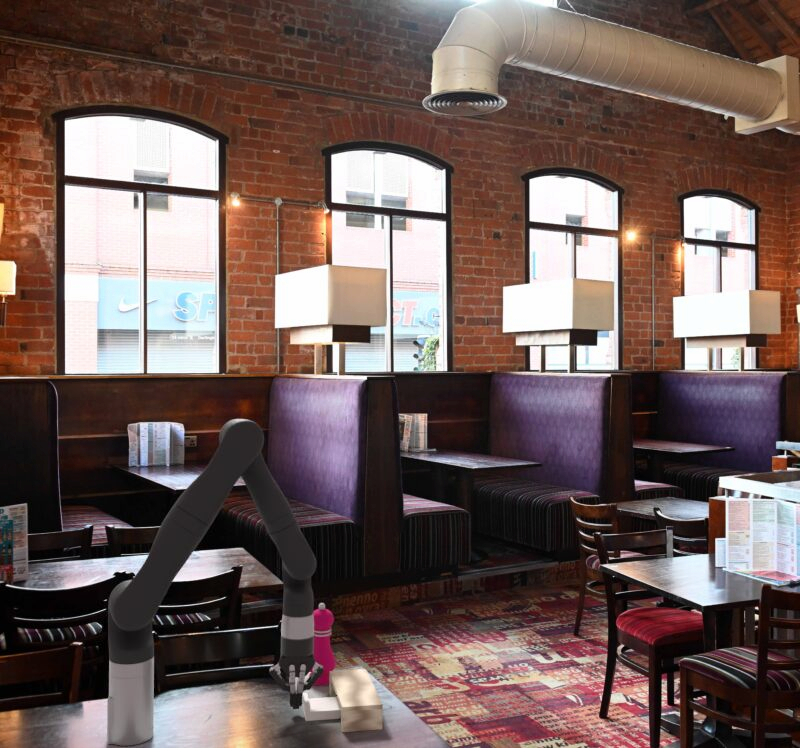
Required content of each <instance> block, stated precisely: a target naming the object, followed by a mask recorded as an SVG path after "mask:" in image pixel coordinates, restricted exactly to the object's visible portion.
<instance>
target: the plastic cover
mask: <svg viewBox="0 0 800 748" xmlns="http://www.w3.org/2000/svg"><path fill="white" fill-rule="evenodd" d="M302 711H303V716H304V720H305V722H309V721H310V722H312V721H324V720H325V721H326V720H339V718H340V720H341V707H340V704H339V701H338V698H337V696H327V697H312V698H309V695H308V692H305V691H303V694H302Z"/></svg>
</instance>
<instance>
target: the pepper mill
mask: <svg viewBox="0 0 800 748" xmlns="http://www.w3.org/2000/svg"><path fill="white" fill-rule="evenodd" d="M313 617H314V652H313V655H314V658H315V661H316V663H318V664H319V665H322V666H323V669H324V672H323V673H322V675H321V676H320V677H319V678H318V680H317V681H316V682H315V684H314V685H313V686H318V687H319V686H322V685H324V686H328V684H329V672H330V671H335V669H336V665H337V664H336V656H335V655H334V652H333V649H332V647H331V646H332V645H331V640H330V639H331V635H332V627H333V626H332V625H333V624H334V622H335V621H334V620H335V619H334V615H333V612H332V611H331V610H329V609H327V608H326V604H325V603H324V602H320V603H319V604H318V608H317V609H314V610H313ZM313 667H314V666H313ZM313 667H312V669H311V670H310V672H309V673H308V678H309V677H310V675H311V674H312V673H313Z"/></svg>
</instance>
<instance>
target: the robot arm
mask: <svg viewBox="0 0 800 748" xmlns="http://www.w3.org/2000/svg"><path fill="white" fill-rule="evenodd" d="M218 442H219V446H218V447H217V449H216V451H215V453H214V455H213V456H212V457H211V459H210V461H209V463H208V464H207V465H206V467H205V468H204V470H202V472H201V473H200V474H198V476H197V477H196V479H194V480H193V481H192V483H190V484H189V486H188V487H187V488H186V489H184V491H183V492H182V493H181V494H180V496H179V497H177V500H176V501H175V503H174V504H173V505H172V507H171V508H170V510H169V511H168V513H167V514H166V516H165V518H164V519H163V520H162V522H161V524H160V527H159V529H158V530H157V533H156V536H155V537H154V540H153V543H152V546H151V548H150V550H149V553H148V555H147V557H146V559H145V561H144V562H143V564H142V565H141V567H140V568H139V570H138V571H137V573H136V574H135V575H134V577H133V578H132V579H128V580H124V581H122V582H119V584H117V585H116V586H115V587H114V588H113V589H112V591H111V593H110V594H109V597H108V604H107V605H108V606H107V628H108V629H107V630H108V631H107V633H108V634H107V635H108V636H107V638H108V639H107V641H108V643H107V644H108V654H109V655H108V659H109V660H108V662H109V663H108V664H109V666H108V669H109V670H108V698H107V700H106V701H107V704H106V707H107V711H106V712H107V714H106V717H107V718H106V719H107V721H106V722H107V723H106V729H107V731H106V743H107V745H111V744H112V745H116V746H135V745H140V744H143V743H146V742H147V741H149V740H151V739H152V738H153V737H154V729H155V728H154V727H155V726H154V709H155V708H154V706H155V705H154V704H155V698H154V696H155V693H154V688H155V683H154V682H155V681H154V680H155V676H154V675H155V641H154V636H153V633H154V632H153V618H154V617H155V616H156V614H157V612H158V609H159V608H160V606H161V604H162V601H163V600H164V597H165V596H166V595H167V593H168V590H169V588H170V586H171V585H172V583H173V581H174V579H175V578H176V577H177V575H178V573H179V572H180V571H181V569H182V568H183V566H184V565H185V564H186V563H187V561H188V560H189V558H190V557H191V556H192V554H193V552H195V551H194V550H195V549H196V548H197V547H198V545H199V544H200V542H201V541H202V540H203V538H204V536H205V535H206V534H207V532H208V530H209V529H210V528H211V526H212V524H213V523H214V521H215V519H216V517H217V516H218V514H219V512H220V511H221V509H222V507H223V505H224V504H225V503H226V501H227V499H228V497H229V495H230V492H231V491H232V490H233V487H234V486H235V485H236V483H237V482H238V480H239V479H240V478H241V479H242V481H243V483H244V484H245V487H246V488H247V490H248V492H249V494H250V497H251V499H252V501H253V503H254V505H255V508H256V510H257V512H258V514H259V517H260V518H261V519H260V520H261V521H262V522H263V525H264V527H265V529H266V530H267V534H268V535H269V537H270V539H271V540H272V542H273V543H274V544H275V547H276V548H277V551H278V553H279V555H280V558H281V570H282V573H281V574H282V584H283V597H282V599H283V600H282V616H281V617H282V618H281V625H280V627H281V628H280V633H281V635H280V656H279V658H278V662H277V664H275V665H274V666H270V667H269V675H270V676H271V678H273V679H274V681H275V682H276V683H277V685H278V686H279V687H280V688H281V689H282V691H284V692H288V693H289V701H288V702H289V705H290V707H292V708H291V709H292V710H299V709H300V707H303V693H304V692H305V691H310V690H311V689H312V687H313V686H315V685H314V684H315V682H316V681H317V680H318V678H319V677H320V676H321V675H322V673H323V672H324V669H323V666H322V665H319V664H318V663H316V661H315V658H314V655H313V652H314V617H313V612H314V602H315V601H314V599H315V598H314V597H315V596H314V591H313V589H312V576H313V575H314V574H315V572H316V568H317V559H316V556H315V554H314V552H313V550H312V549H311V546H310V545H309V543H308V541H307V539H306V538H305V535H304V534H303V532H302V531H301V528H300V525H299V522H298V520H297V518H296V515H295V514H294V512H293V509H292V507H291V505H290V503H289V501H288V500H287V498H286V496H285V495H284V493H283V491H282V490H281V488H280V486H279V485H278V483H277V482H276V480H275V479H274V477H273V475H272V473H271V472H270V470H269V468H268V465H267V464H266V461H265V459H264V456H263V452H262V449H263V447H264V444H265V434H264V431H263V429H262V427H261V426H260V425H259V424H258V423H257V422H255V421H253V420H250V419H245V418H235V419H234V418H233V419H230V420H229V421H227V422H226V423H225V424H223V426H222V427H221V428H220V432H219V435H218ZM313 666H314V667H313ZM312 667H313V673H312V674H311V675H310V677H309V676H308V675H309V674H310V673H311V672H310V670H311V669H312ZM280 669H281V670H282V672H283V673H284V674H285V676H286V677H288V680H289V682H288V683H287V682H286V681H285V679H284V678H283V677H282V675H281V670H280ZM306 676H308V678H307V679H306V681H305V677H306ZM296 678H297V683H296Z"/></svg>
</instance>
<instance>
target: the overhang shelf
mask: <svg viewBox="0 0 800 748" xmlns="http://www.w3.org/2000/svg"><path fill="white" fill-rule="evenodd" d="M328 688H329V689H328V690H329V692H328V693H329V697H337V698H338V701H339V704H340V707H341V719H340V729H341V732H342V733H350V732H361V731H362V732H363V731H376V730H383V716H384V715H383V711H384V710H383V705H384V704H383V703H382V700H381V699H380V696H379V693H378V692H377V689H376V688H375V685H374V683H373V681H372V679H371V677H370V675H369V673H368V671H367V669H366V668H361V669H360V668H357V669H341V670H333V671H330V672H329V687H328ZM336 695H337V696H336Z"/></svg>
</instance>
